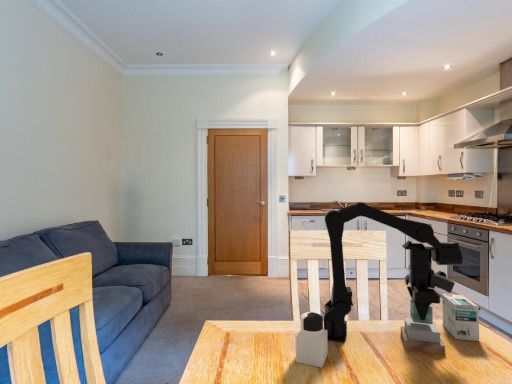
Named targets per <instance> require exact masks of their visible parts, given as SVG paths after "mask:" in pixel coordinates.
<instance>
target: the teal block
mask: <svg viewBox="0 0 512 384" xmlns="http://www.w3.org/2000/svg"><path fill="white" fill-rule="evenodd" d="M409 301H410V302H409V305H410V311H409V312H410V315H409V316H410V319H412V320H413V322H416V323H425V324H433V322H434V321H433V306H432V304H430V306H429V309H428V312H427V315H426V318H425V320H421V319H420V317H419V314H418V312H417V309H416V306H415V304H414V301H413V300H412V299H410V300H409Z"/></svg>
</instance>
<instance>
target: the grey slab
mask: <svg viewBox="0 0 512 384" xmlns="http://www.w3.org/2000/svg"><path fill="white" fill-rule="evenodd" d="M404 327H405V330H406V333H407V335H408V338H409V340H417V341H426V342H434V343H440V338H441V331H440V330H439V328H438V327H437V325H436V323H435V322H434V321H433V324H425V323H416V322H413V320H412V318H407V317H404Z"/></svg>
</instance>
